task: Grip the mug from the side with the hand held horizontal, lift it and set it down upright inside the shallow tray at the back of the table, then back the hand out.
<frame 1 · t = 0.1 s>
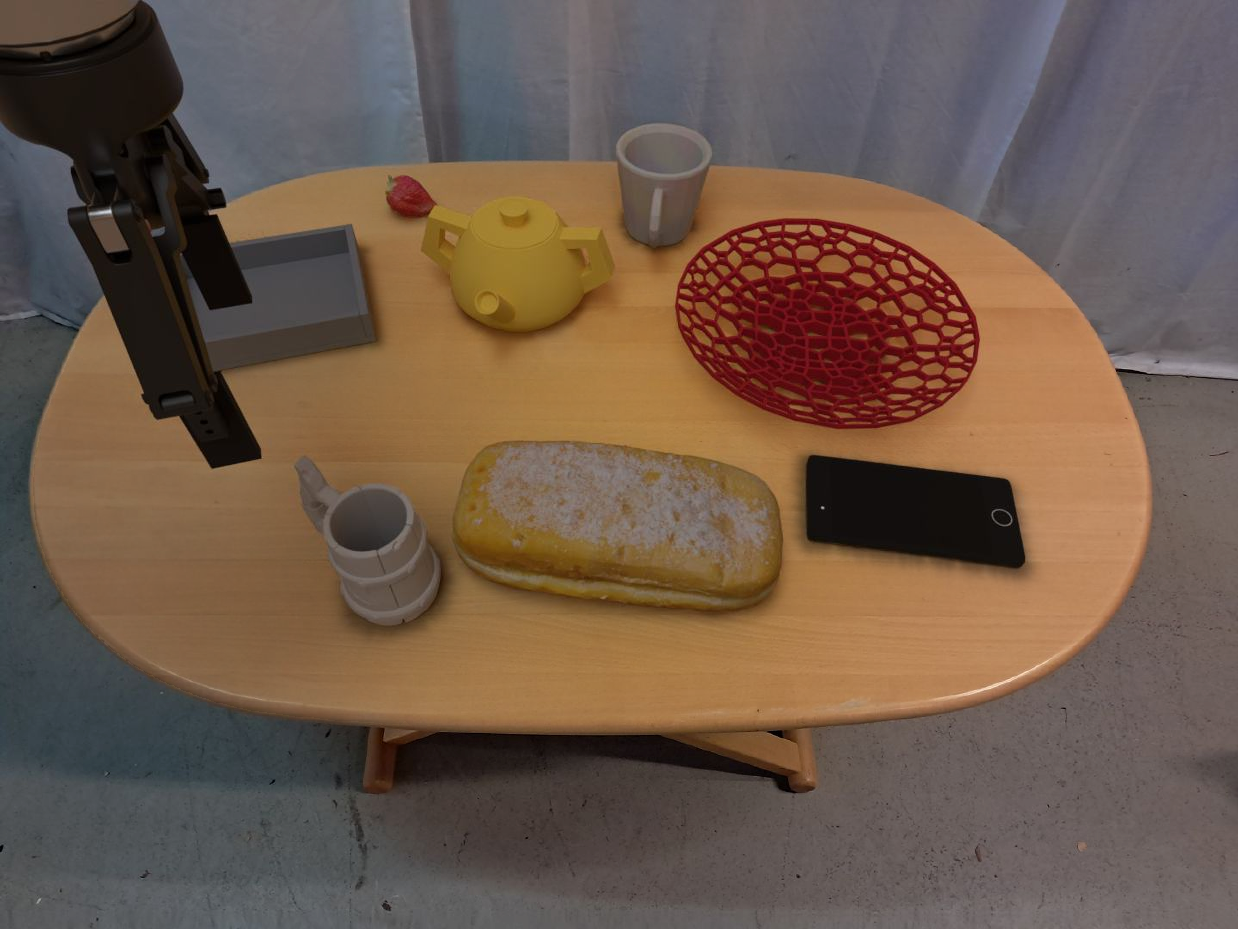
hand: (233, 375, 50), 21 cm above the table, tool pointing down, fingers open, 13 cm apart
tray: (276, 310, 83), on the table
teapot: (516, 308, 85), on the table
bread: (616, 545, 67), on the table
mug 2: (655, 240, 92), on the table
cell phone: (908, 513, 70), on the table
fruit: (413, 214, 94), on the table
mug: (377, 574, 65), on the table
bowl: (813, 348, 82), on the table
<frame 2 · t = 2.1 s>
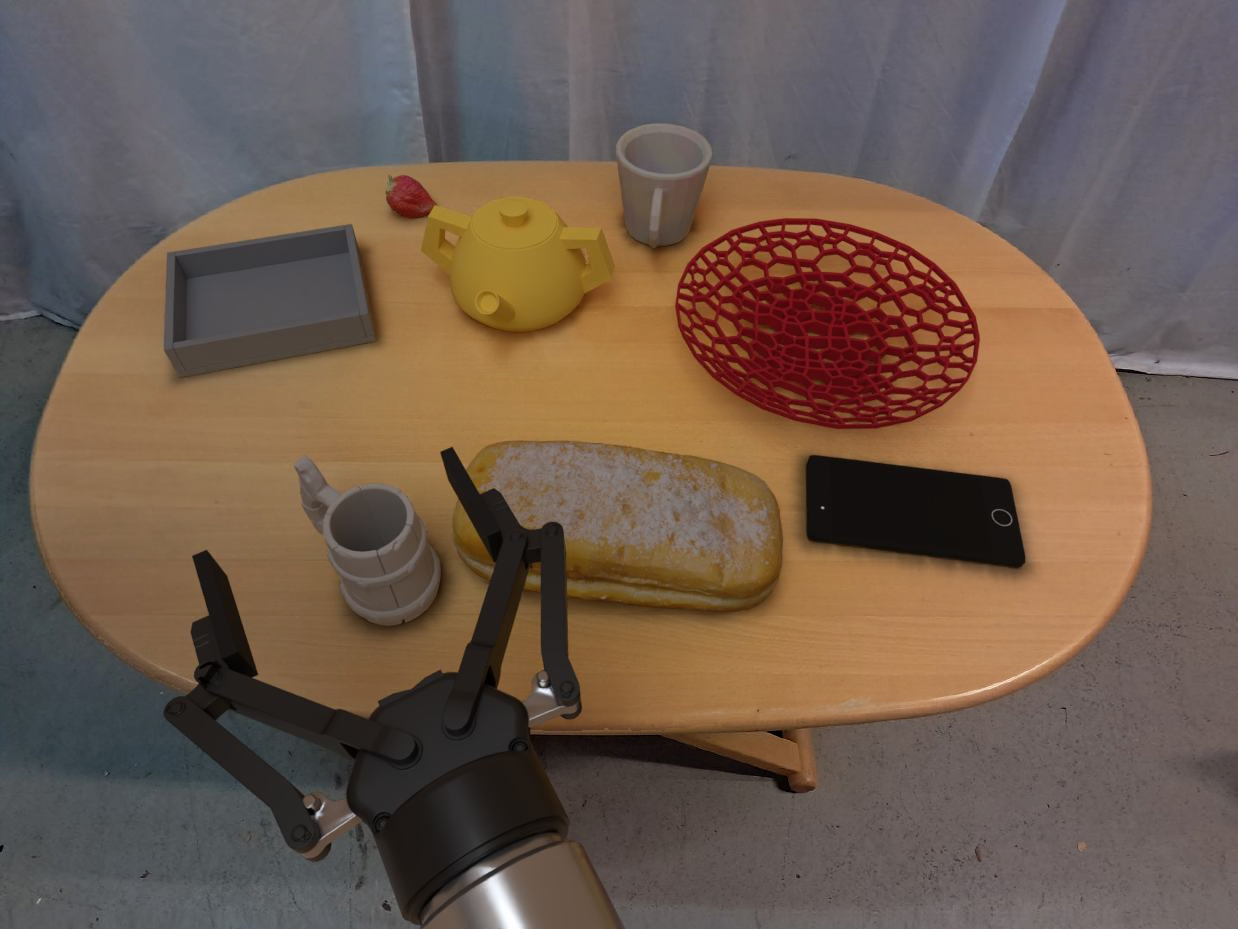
hand: (335, 511, 44), 20 cm above the table, tool horizontal, fingers open, 13 cm apart
nothing on the table moved.
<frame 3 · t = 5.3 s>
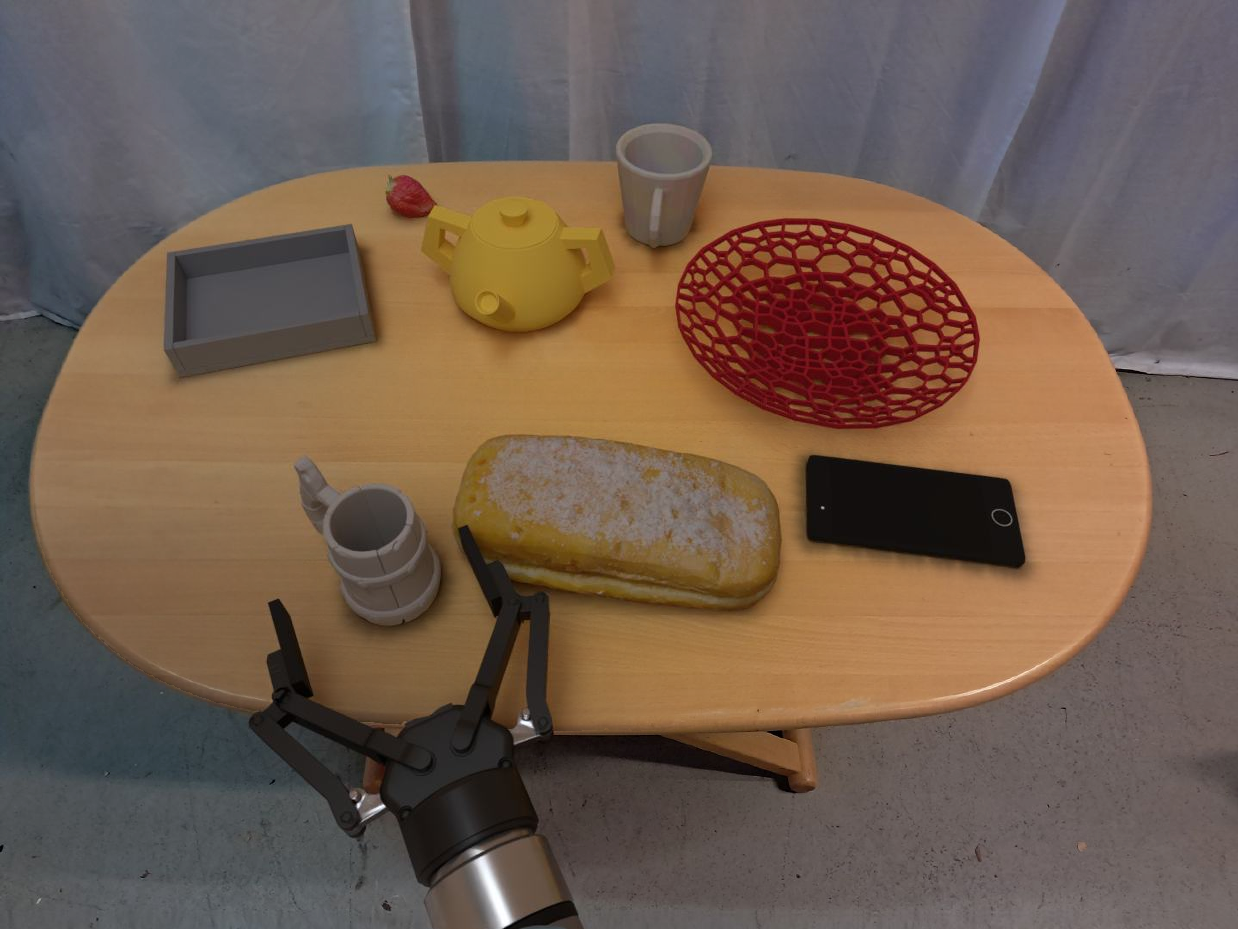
hand: (375, 570, 58), 7 cm above the table, tool horizontal, fingers open, 13 cm apart
bread: (615, 541, 68), on the table, touching gripper
everything else where it was.
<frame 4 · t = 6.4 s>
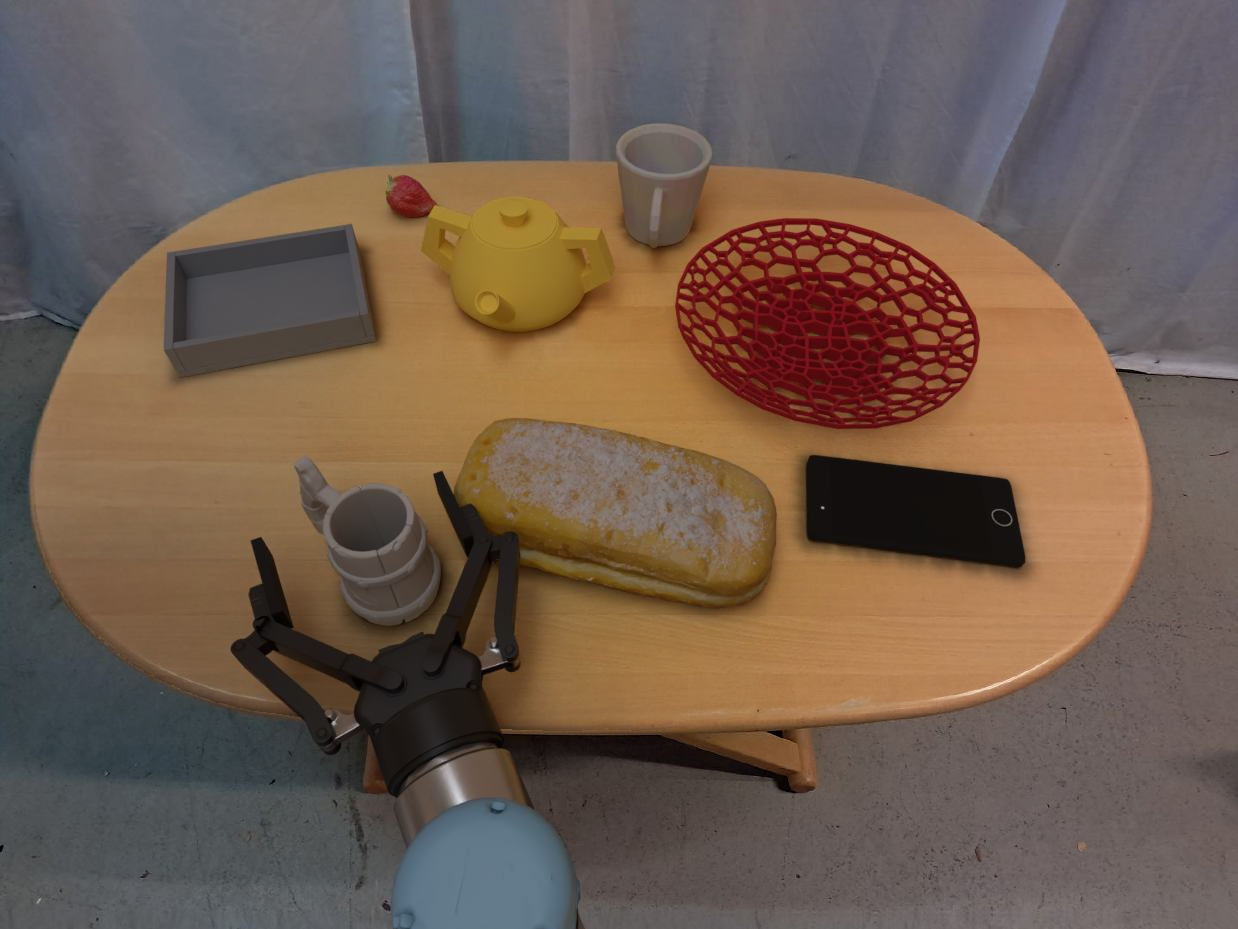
hand: (353, 513, 60), 7 cm above the table, tool horizontal, fingers open, 13 cm apart
bread: (614, 531, 68), on the table
everything else where it was.
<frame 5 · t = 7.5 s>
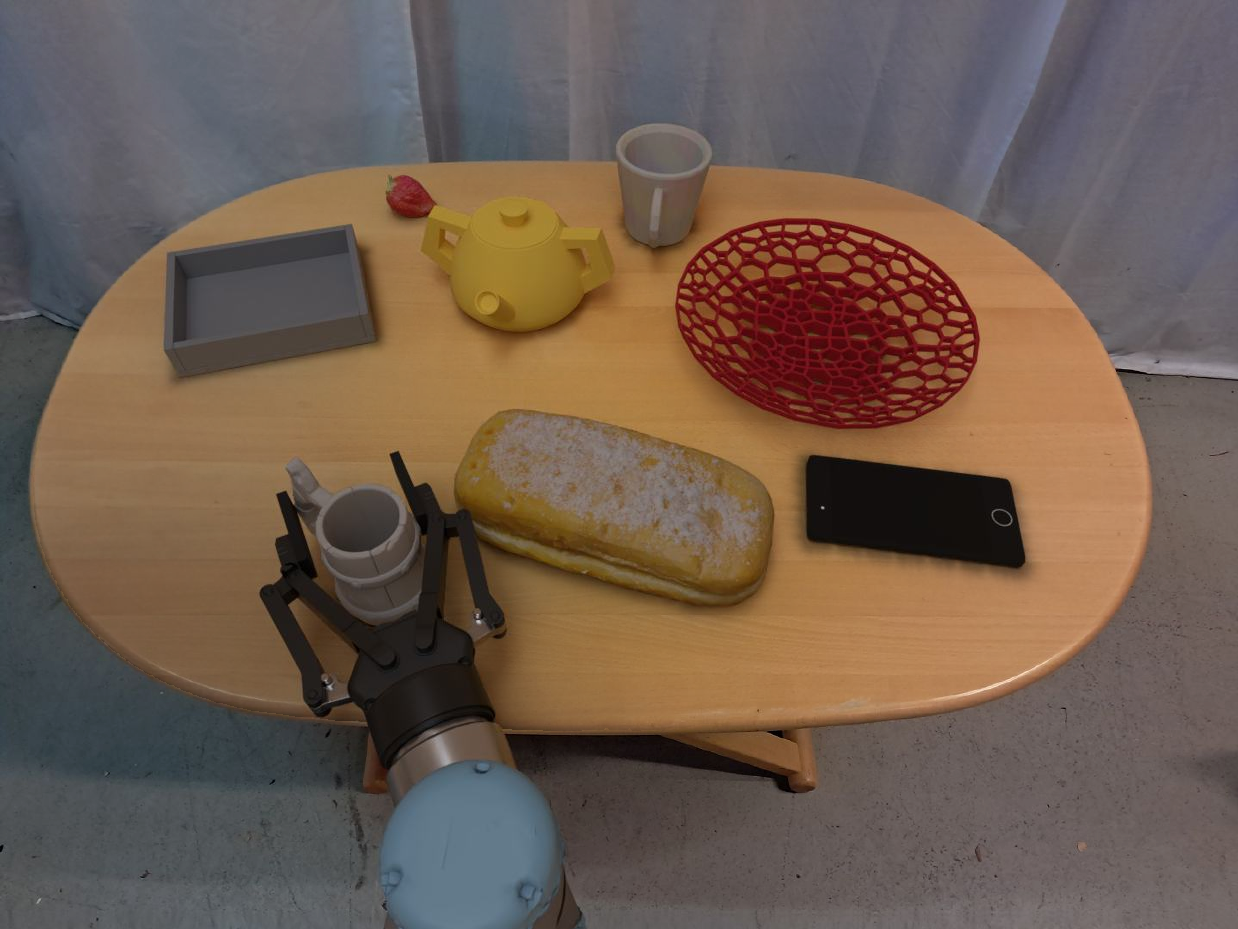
hand: (343, 482, 62), 7 cm above the table, tool horizontal, fingers closed on mug, 8 cm apart
mug: (372, 575, 65), on the table, touching gripper
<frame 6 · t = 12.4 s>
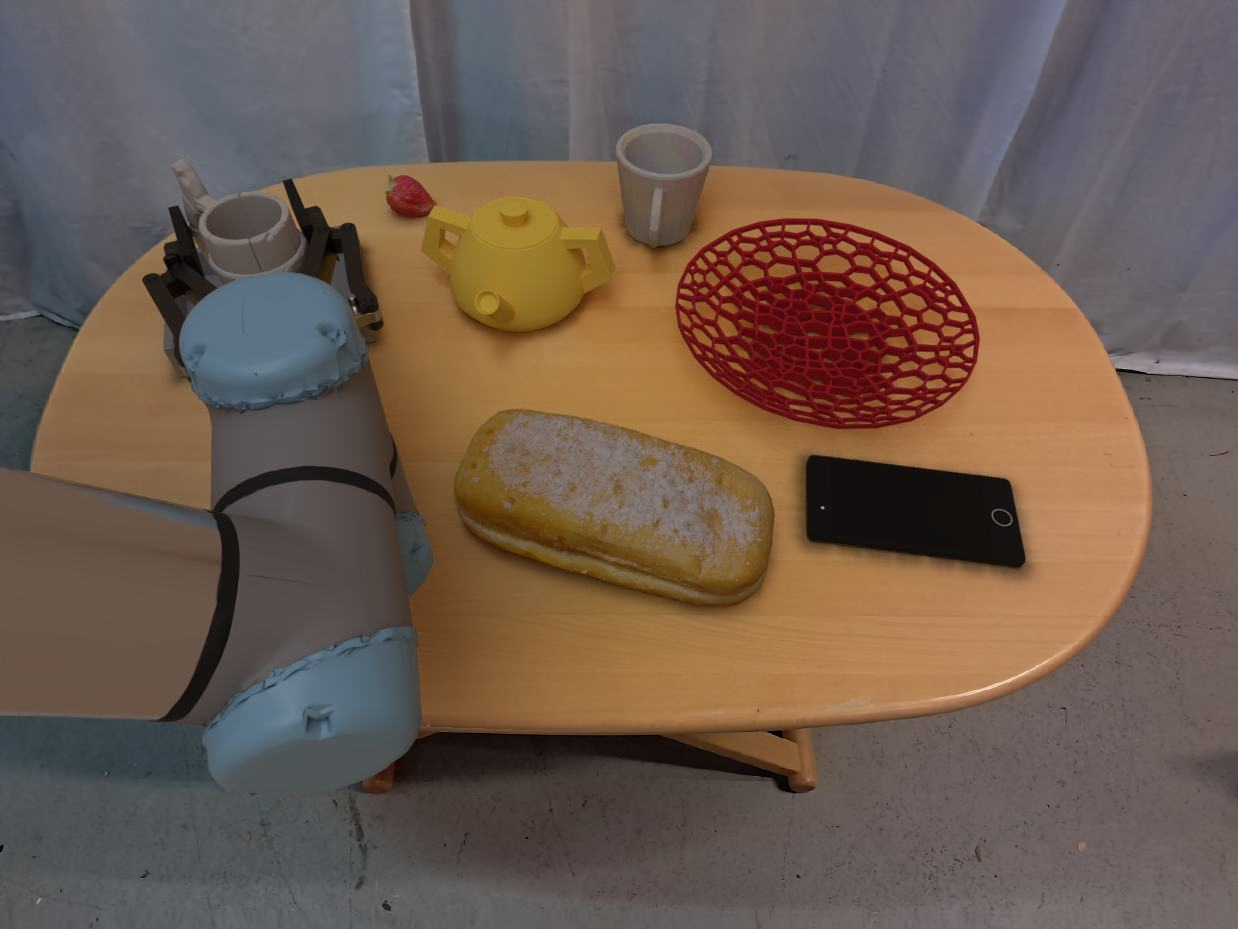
hand: (237, 207, 64), 18 cm above the table, tool horizontal, fingers closed on mug, 8 cm apart
mug: (269, 309, 67), point 11 cm above the table, touching gripper
everything else where it was.
when the fingers open (7 cm above the table, at t = 17.5 s): mug stays where it is, resting on tray.
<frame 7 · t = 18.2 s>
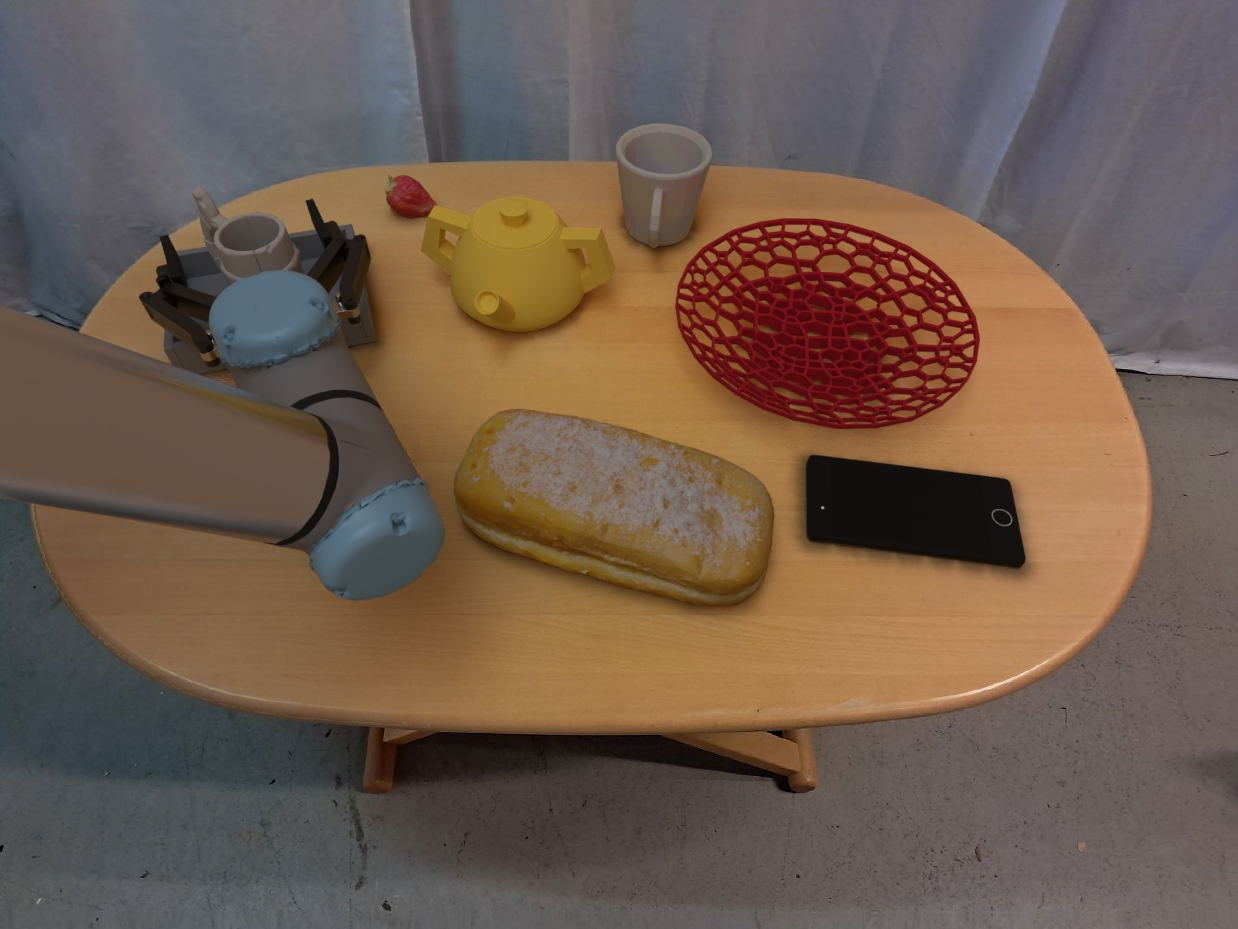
hand: (242, 228, 78), 8 cm above the table, tool horizontal, fingers open, 13 cm apart
mug: (268, 306, 82), point 1 cm above the table, touching tray
everything else where it was.
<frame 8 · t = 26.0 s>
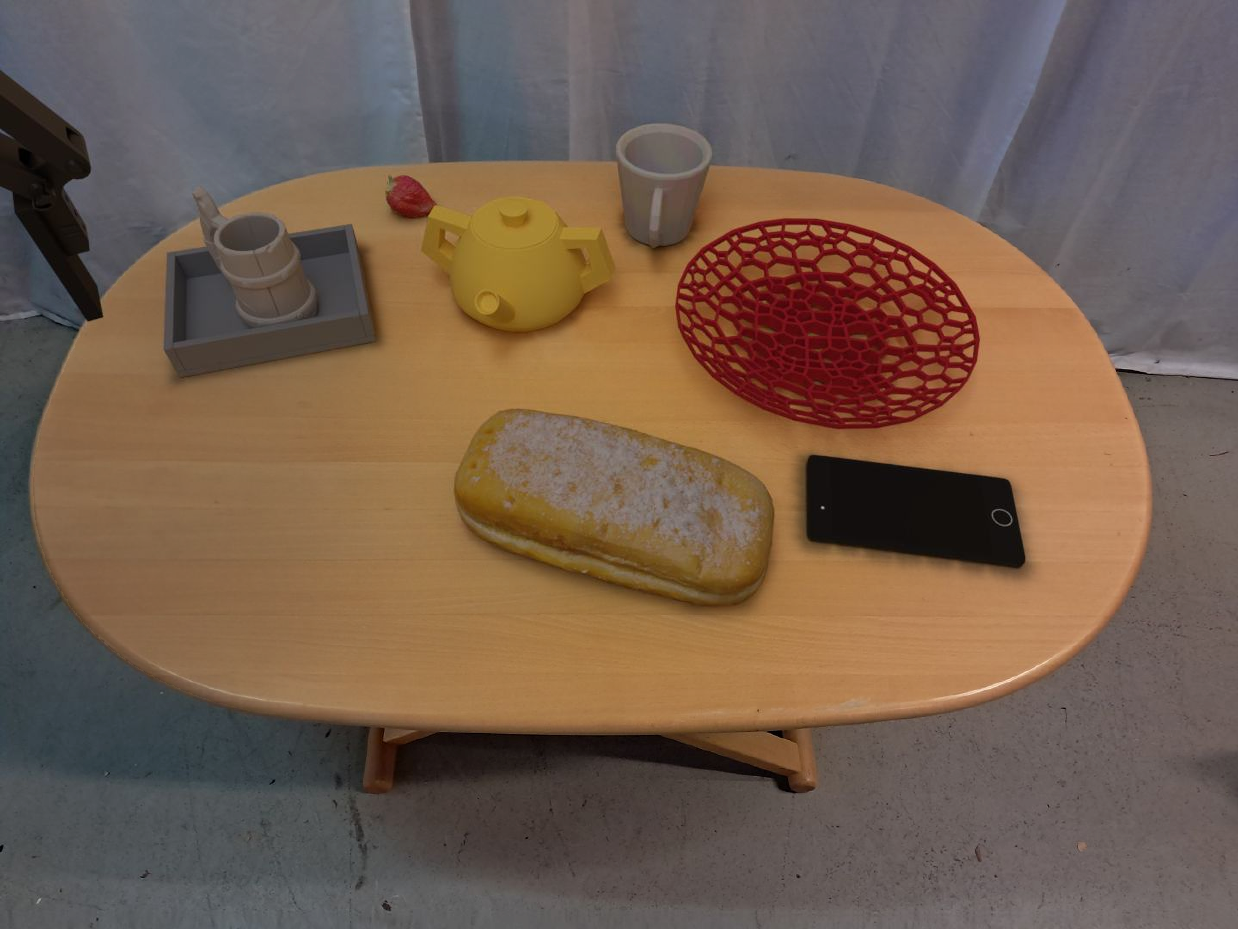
nothing on the table moved.
at the end: mug inside the target area in the tray (0.6 cm from its centre), point 0.6 cm above the tray's base; mug tilted 0°; the gripper is holding nothing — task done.
